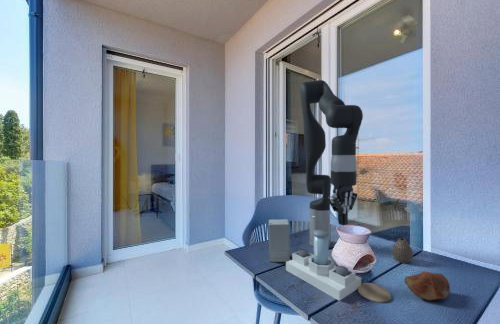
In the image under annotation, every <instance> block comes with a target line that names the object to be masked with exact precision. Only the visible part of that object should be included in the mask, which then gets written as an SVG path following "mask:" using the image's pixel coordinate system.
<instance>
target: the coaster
mask: <svg viewBox="0 0 500 324" xmlns="http://www.w3.org/2000/svg"><path fill="white" fill-rule="evenodd" d="M357 291H358V293H359V295H360V296H362V297H363V298H365V299H367V300H369V301H372V302H375V303H388V302H389V301H391V300H392V294H391V292H390V291H389V290H388V289H387V288H385V287H383V286H381V285H380V284H379V285H378V284H376V283H371V282H364V283H363V282H361V286H359V287H358V289H357Z"/></svg>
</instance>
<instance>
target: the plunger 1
mask: <svg viewBox="0 0 500 324" xmlns="http://www.w3.org/2000/svg"><path fill="white" fill-rule="evenodd" d="M297 252H298V255H299V256H301V257H303V258H305V257H307V256H308V252H309V250H307V249H304V248H303V249H302V248H300V249H299V250H297Z"/></svg>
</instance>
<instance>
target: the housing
mask: <svg viewBox="0 0 500 324" xmlns="http://www.w3.org/2000/svg"><path fill="white" fill-rule="evenodd" d="M291 255H292V259H290V261H287V262H285V270H286V272H288V273H289V274H292V275H294V276H296V278H298V279H301V280H303V281H304V282H306V283H308V284H309V285H311V286H313V287H315V289H318V290H319V291H322V292H323V293H325V294H327V295H328V296H330V297H331V298H333V299H336V301H339V302H340V301H341V300H343V299H345V298H346V297H348V296H349V295H351V294H353V293H354V292H355V291H358V287H359V286H361V284H362V277H360V276H358V275H356V272H354V271H352V270H350V269H348V275H347V276H346V277H343V276H341V275H339V274H337V273H336V267H337V265H335V263H334V259H332V258H331V257H328V265H327V266H326V265H317V264H315V263H314V253H311V252H309V251H308V256H307V257H305V258H303V257H301V256H299V255H298V251H295V252H293V253H292V254H291Z"/></svg>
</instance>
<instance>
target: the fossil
mask: <svg viewBox="0 0 500 324" xmlns="http://www.w3.org/2000/svg"><path fill="white" fill-rule="evenodd" d="M404 283H405V284H406V286H407V287H408V289H409V290H410V291H411V293H413V294H414V295H415V296H417V297H418V298H419V299H423V300H426V301H434V300H446V298H447V297H448V296H449V294H450V291H451V289H450V287H451V285H450V282H449V281H448V278H447V277H445V275H444V274H442V273H439V272H438V273H437V272H436V273H435V272H434V273H433V272H428V271H421V273H418V274H413V275H409V276H405V278H404Z"/></svg>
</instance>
